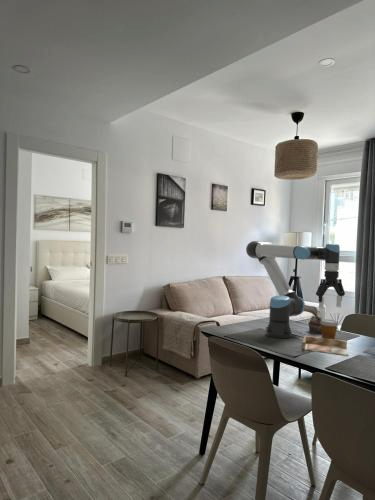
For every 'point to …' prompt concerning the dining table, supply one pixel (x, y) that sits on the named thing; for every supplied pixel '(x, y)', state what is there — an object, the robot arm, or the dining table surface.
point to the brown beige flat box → (325, 345)
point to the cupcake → (315, 324)
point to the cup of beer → (328, 328)
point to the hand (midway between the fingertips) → (330, 307)
